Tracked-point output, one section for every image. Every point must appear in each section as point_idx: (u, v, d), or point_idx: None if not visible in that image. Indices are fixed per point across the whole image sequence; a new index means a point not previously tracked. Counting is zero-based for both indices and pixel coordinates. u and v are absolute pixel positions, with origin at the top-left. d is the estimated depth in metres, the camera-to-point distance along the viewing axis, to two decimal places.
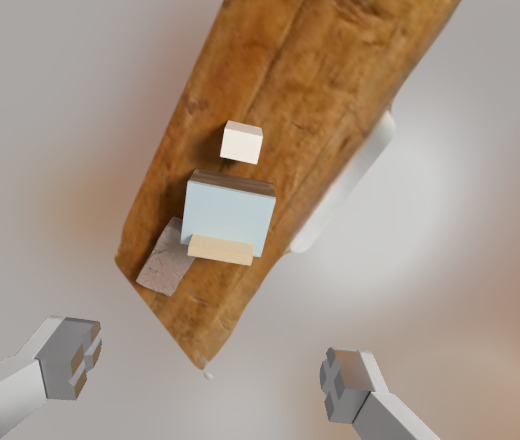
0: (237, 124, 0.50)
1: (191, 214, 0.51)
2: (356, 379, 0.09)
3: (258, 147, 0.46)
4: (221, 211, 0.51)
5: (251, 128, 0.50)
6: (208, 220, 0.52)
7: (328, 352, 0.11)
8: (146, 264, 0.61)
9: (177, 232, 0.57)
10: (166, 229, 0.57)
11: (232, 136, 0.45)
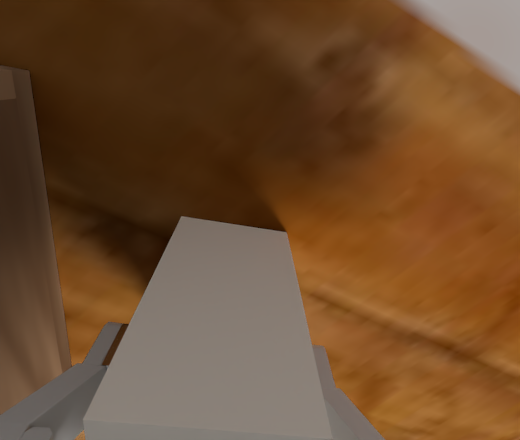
0: None
1: None
2: None
3: None
4: None
5: None
6: None
7: None
8: None
9: None
10: None
11: None
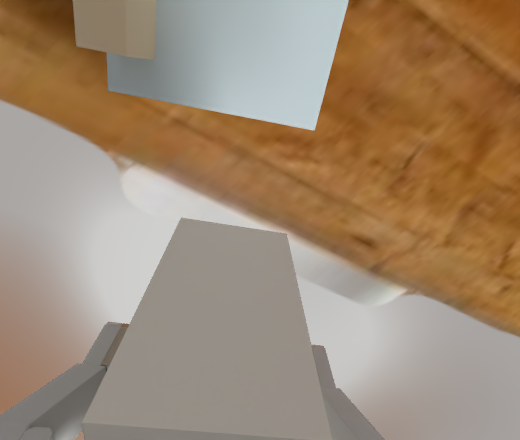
0: None
1: None
2: None
3: None
4: None
5: None
6: None
7: None
8: None
9: None
10: None
11: None
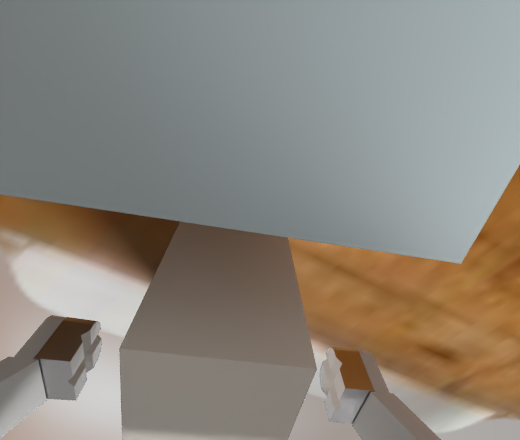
0: None
1: None
2: (356, 379, 0.09)
3: None
4: None
5: None
6: None
7: (328, 352, 0.11)
8: None
9: None
10: None
11: (264, 401, 0.07)
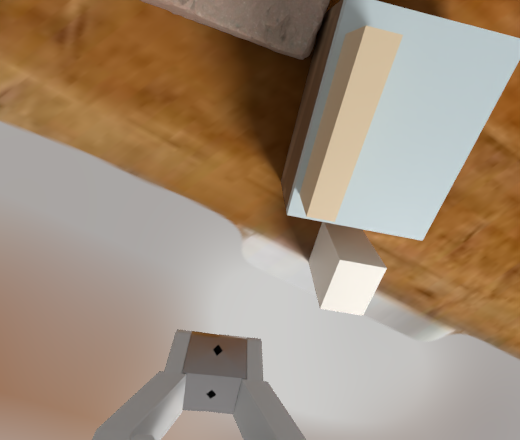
0: None
1: (435, 43, 0.19)
2: (231, 366, 0.09)
3: (347, 310, 0.29)
4: (424, 129, 0.21)
5: None
6: (406, 92, 0.20)
7: None
8: None
9: None
10: None
11: (370, 278, 0.27)
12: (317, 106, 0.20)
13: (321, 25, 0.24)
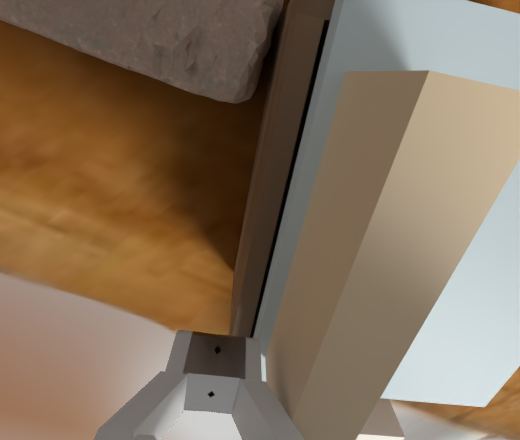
0: None
1: None
2: (230, 366, 0.09)
3: None
4: (507, 250, 0.10)
5: None
6: None
7: None
8: None
9: None
10: None
11: None
12: (288, 218, 0.10)
13: (277, 37, 0.14)
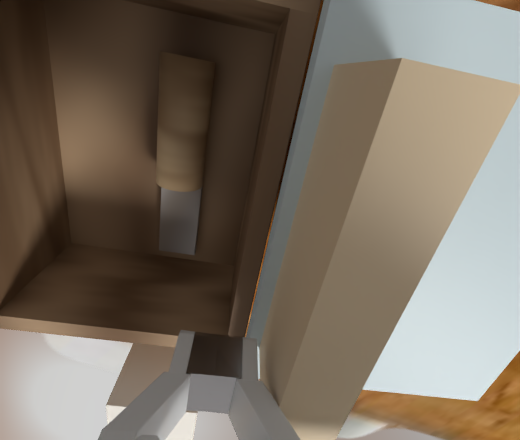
0: None
1: None
2: (226, 366, 0.09)
3: None
4: (497, 243, 0.11)
5: None
6: None
7: None
8: None
9: None
10: None
11: (175, 427, 0.16)
12: (281, 209, 0.10)
13: None
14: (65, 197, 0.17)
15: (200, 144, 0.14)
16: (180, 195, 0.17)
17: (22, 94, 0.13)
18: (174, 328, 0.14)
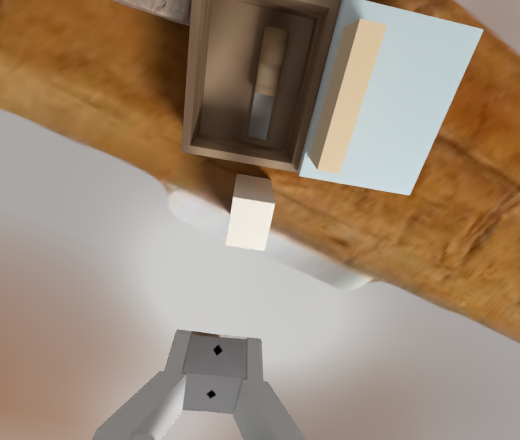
0: None
1: (412, 32, 0.24)
2: (231, 366, 0.09)
3: (249, 246, 0.33)
4: (407, 101, 0.27)
5: None
6: (392, 71, 0.26)
7: None
8: None
9: None
10: None
11: (263, 214, 0.32)
12: (323, 84, 0.26)
13: None
14: (202, 105, 0.33)
15: (279, 71, 0.30)
16: (263, 102, 0.33)
17: (204, 45, 0.29)
18: (266, 158, 0.30)
